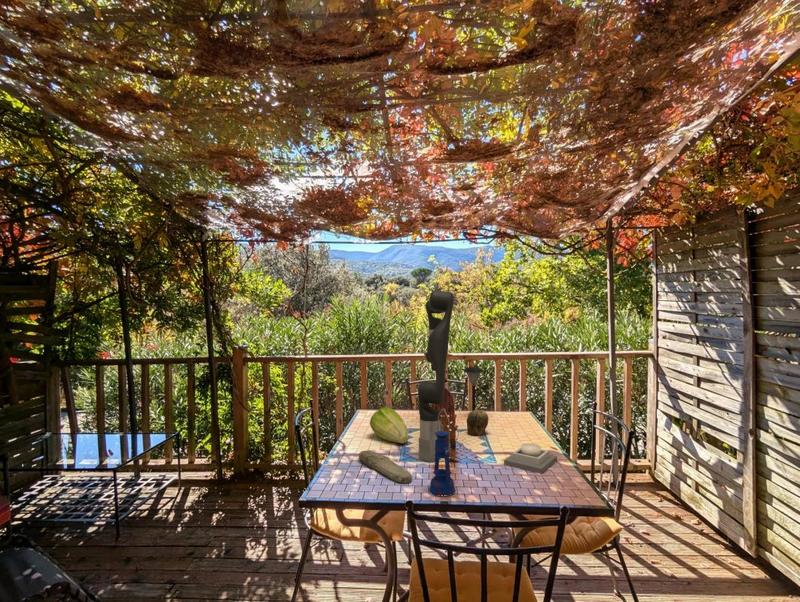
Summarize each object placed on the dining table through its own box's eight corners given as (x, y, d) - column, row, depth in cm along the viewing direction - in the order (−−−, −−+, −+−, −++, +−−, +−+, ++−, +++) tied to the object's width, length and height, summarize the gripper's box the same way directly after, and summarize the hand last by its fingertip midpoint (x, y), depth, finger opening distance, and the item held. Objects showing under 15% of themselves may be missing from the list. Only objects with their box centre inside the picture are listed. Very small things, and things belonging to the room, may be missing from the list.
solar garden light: (481, 417, 263) (481, 365, 263) (487, 423, 251) (487, 369, 250) (460, 418, 262) (460, 366, 262) (465, 424, 250) (465, 369, 250)
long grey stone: (397, 490, 170) (418, 485, 175) (398, 476, 169) (419, 472, 175) (352, 458, 198) (371, 454, 204) (352, 446, 198) (372, 443, 204)
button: (536, 458, 187) (536, 451, 187) (518, 454, 192) (518, 447, 192) (543, 452, 193) (543, 445, 193) (525, 449, 198) (525, 442, 198)
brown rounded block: (488, 437, 227) (488, 413, 226) (466, 436, 228) (466, 412, 228) (488, 431, 237) (487, 408, 237) (466, 430, 239) (466, 407, 239)
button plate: (541, 473, 181) (541, 462, 181) (504, 464, 191) (504, 454, 190) (557, 460, 195) (556, 450, 195) (521, 452, 205) (521, 442, 205)
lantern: (424, 487, 169) (424, 406, 168) (447, 483, 172) (446, 404, 172) (436, 499, 159) (436, 413, 159) (460, 494, 162) (460, 411, 162)
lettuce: (416, 451, 222) (387, 461, 214) (392, 422, 241) (365, 430, 234) (418, 426, 216) (389, 436, 209) (393, 399, 235) (366, 407, 228)
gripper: (443, 336, 248) (444, 368, 248) (420, 337, 242) (420, 370, 243) (450, 337, 241) (450, 370, 241) (426, 339, 235) (427, 372, 236)
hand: (435, 370), depth 242 cm, fingers closed
